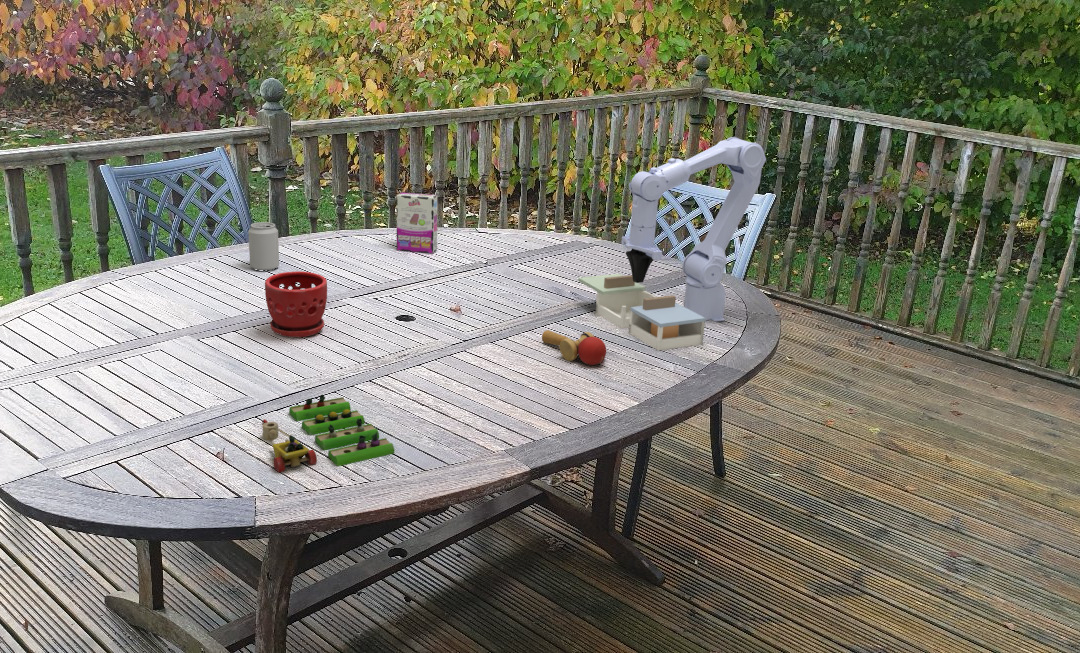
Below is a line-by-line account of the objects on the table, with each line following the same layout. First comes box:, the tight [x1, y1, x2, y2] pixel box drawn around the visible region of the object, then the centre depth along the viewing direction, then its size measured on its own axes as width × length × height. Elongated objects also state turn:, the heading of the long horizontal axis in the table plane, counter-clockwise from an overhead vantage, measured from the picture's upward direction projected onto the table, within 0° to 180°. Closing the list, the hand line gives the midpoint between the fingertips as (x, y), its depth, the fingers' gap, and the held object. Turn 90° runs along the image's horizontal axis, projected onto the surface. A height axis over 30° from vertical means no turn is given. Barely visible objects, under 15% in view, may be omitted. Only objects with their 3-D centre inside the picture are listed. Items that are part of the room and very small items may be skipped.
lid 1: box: [577, 273, 646, 295], centre depth 238 cm, size 12×12×3 cm
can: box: [247, 221, 280, 271], centre depth 256 cm, size 8×8×12 cm
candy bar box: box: [395, 192, 439, 254], centre depth 281 cm, size 11×5×16 cm, turn 80°
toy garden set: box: [262, 394, 395, 473], centre depth 165 cm, size 23×19×5 cm
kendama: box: [541, 329, 607, 366], centre depth 209 cm, size 8×6×18 cm
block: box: [650, 322, 679, 339], centre depth 217 cm, size 4×4×4 cm
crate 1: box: [594, 289, 657, 329], centre depth 232 cm, size 12×12×6 cm
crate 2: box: [628, 311, 706, 351], centre depth 219 cm, size 12×12×6 cm
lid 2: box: [631, 294, 706, 327], centre depth 218 cm, size 12×12×3 cm
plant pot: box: [264, 270, 328, 338], centre depth 212 cm, size 13×13×12 cm
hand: (638, 281), depth 227 cm, fingers closed
